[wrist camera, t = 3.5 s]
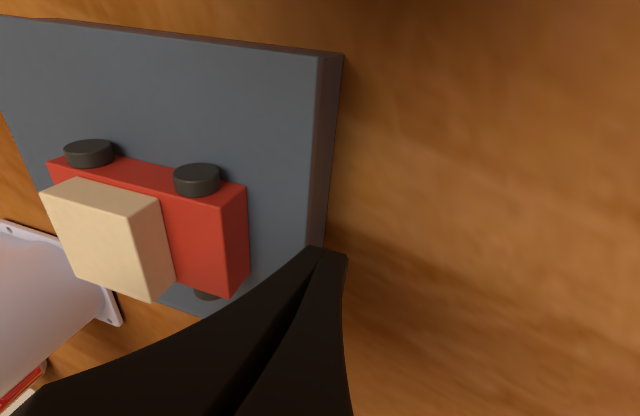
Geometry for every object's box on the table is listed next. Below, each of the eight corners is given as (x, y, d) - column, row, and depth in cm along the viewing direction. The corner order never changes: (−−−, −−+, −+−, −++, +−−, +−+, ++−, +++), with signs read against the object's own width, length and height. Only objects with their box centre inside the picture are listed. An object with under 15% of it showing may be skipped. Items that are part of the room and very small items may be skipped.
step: (124, 237, 20) (73, 272, 18) (55, 12, 14) (-46, 9, 11) (321, 298, 17) (297, 353, 14) (350, 47, 11) (318, 56, 8)
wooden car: (117, 240, 15) (54, 282, 12) (81, 131, 12) (-9, 158, 10) (252, 283, 13) (210, 341, 11) (246, 169, 10) (188, 212, 8)
